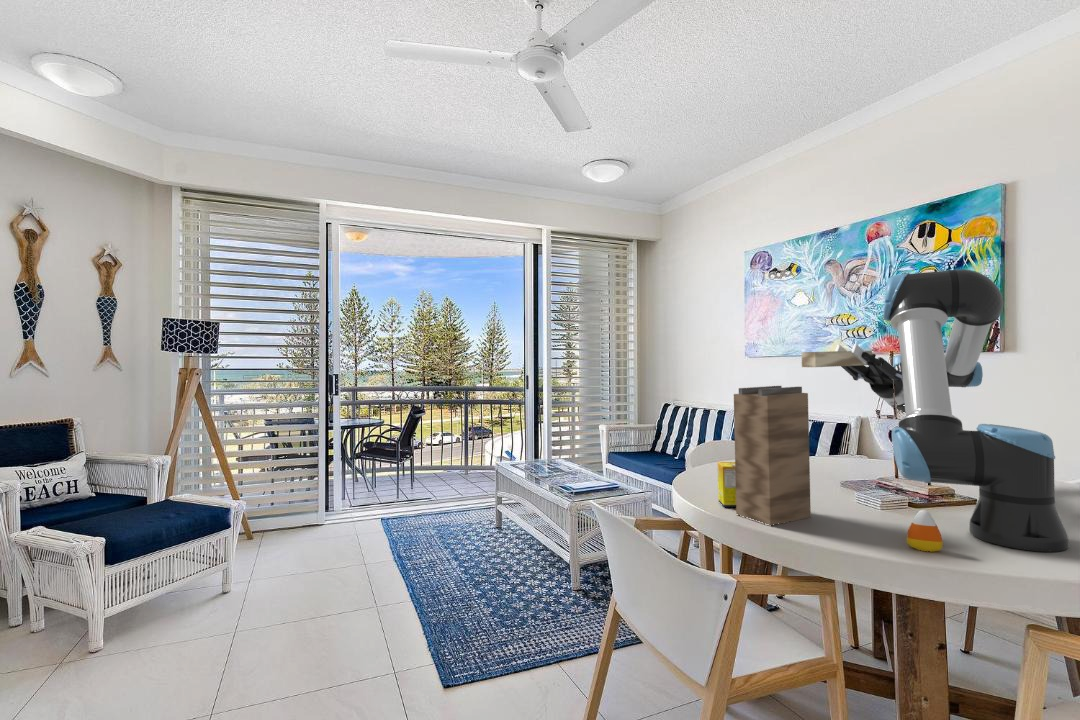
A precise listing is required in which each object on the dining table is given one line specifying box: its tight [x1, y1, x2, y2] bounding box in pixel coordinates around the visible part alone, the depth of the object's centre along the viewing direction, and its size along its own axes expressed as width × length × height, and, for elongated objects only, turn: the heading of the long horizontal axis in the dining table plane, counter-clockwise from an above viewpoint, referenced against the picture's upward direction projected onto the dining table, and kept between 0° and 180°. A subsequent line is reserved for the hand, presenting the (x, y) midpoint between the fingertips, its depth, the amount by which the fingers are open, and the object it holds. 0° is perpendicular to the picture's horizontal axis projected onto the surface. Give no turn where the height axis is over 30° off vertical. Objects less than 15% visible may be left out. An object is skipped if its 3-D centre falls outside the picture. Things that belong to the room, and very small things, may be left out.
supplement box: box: [717, 461, 736, 508], centre depth 138 cm, size 6×6×11 cm
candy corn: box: [906, 509, 944, 553], centre depth 104 cm, size 6×3×8 cm, turn 63°
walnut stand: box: [733, 385, 812, 525], centre depth 128 cm, size 10×14×32 cm
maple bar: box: [801, 350, 873, 368], centre depth 143 cm, size 4×24×4 cm, turn 116°
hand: (845, 348), depth 144 cm, fingers closed on maple bar, 4 cm apart
